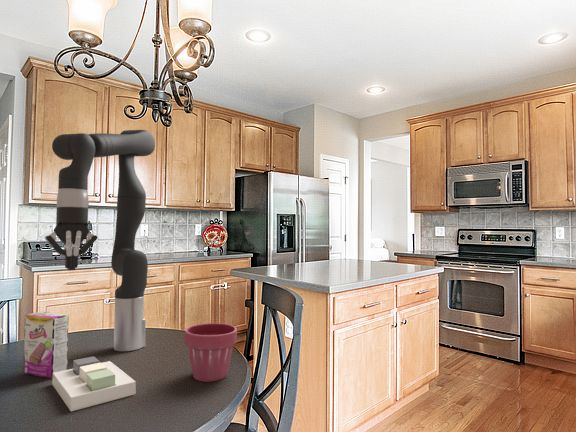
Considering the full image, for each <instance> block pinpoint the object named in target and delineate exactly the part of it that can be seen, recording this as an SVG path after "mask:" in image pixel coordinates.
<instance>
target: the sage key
mask: <svg viewBox="0 0 576 432" xmlns="http://www.w3.org/2000/svg"><path fill="white" fill-rule="evenodd" d="M86 386H87V387H88V388H89V390H90V391H95V390H99V389H103V388H107V387H111V386H115V374H114V373H113V372H112V371H111V370H109V369H106V370H102V371H97V372H93V373H88V374H87V380H86Z"/></svg>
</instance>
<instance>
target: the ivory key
mask: <svg viewBox="0 0 576 432" xmlns="http://www.w3.org/2000/svg"><path fill="white" fill-rule="evenodd" d="M102 363H103V362H99V363H96V364H91V365H86V366H81V367H80V374H79V378H80V380H81V381H82V382H83V383H86V380H87V374H88V373H93V372H97V371H102V370H106V369H107V367H106V366H105V365H103V364H102Z"/></svg>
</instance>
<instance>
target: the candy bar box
mask: <svg viewBox="0 0 576 432" xmlns="http://www.w3.org/2000/svg"><path fill="white" fill-rule="evenodd" d="M23 334H24V337H23V338H24V341H23V342H24V343H23V346H24V347H23V372H22V373H23V374H24V375H29V376H36V377H41V378H47V379H52V380H53V373H54V372H59V371H64V370H68V355H69V354H68V351H69V350H68V347H69V345H68V344H69V314H65V313H56V312H46V311H37V312H32V313H26V314H24V333H23Z"/></svg>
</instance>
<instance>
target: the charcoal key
mask: <svg viewBox="0 0 576 432" xmlns="http://www.w3.org/2000/svg"><path fill="white" fill-rule="evenodd" d="M72 362H73V363H72V364H73V365H72V369H73V372H74V373H75V374H76V375H79V374H80V367H81V366H86V365H91V364H96V363H100V360H99V359H98V358H96V356H88V357H83V358H79V359H73V361H72Z"/></svg>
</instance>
